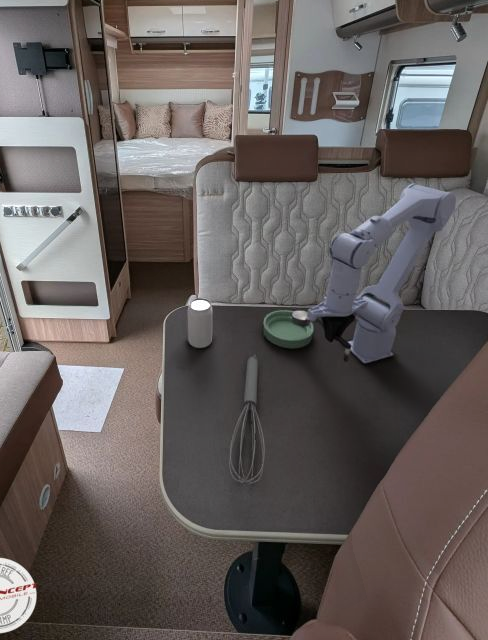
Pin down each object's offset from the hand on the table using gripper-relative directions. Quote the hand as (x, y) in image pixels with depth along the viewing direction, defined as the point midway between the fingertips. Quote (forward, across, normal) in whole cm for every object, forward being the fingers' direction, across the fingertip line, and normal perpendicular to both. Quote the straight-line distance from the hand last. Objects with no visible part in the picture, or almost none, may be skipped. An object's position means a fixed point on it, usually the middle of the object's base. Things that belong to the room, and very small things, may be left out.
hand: (331, 338), depth 84 cm
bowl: (+10, +1, -16) cm, 19 cm away
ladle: (+3, 0, -4) cm, 5 cm away
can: (+11, +25, -21) cm, 34 cm away
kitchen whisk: (+11, +23, +5) cm, 26 cm away
